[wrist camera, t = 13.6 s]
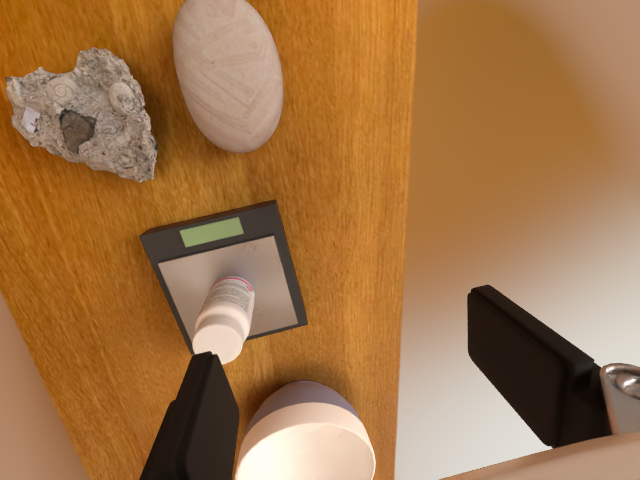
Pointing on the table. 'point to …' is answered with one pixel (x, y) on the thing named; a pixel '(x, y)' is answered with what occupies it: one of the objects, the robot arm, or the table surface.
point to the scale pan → (239, 261)
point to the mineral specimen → (87, 115)
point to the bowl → (305, 438)
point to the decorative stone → (228, 72)
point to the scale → (220, 233)
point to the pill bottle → (225, 319)
